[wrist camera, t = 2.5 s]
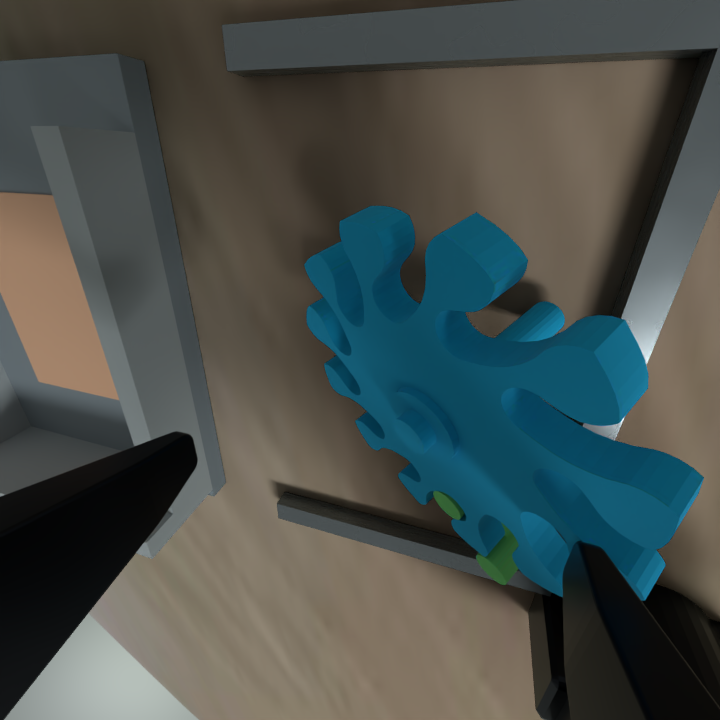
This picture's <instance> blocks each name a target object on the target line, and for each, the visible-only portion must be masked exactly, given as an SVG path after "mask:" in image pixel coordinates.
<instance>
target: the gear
mask: <svg viewBox="0 0 720 720" xmlns="http://www.w3.org/2000/svg"><path fill="white" fill-rule="evenodd" d="M339 230H340V237H341V242H338V243H336V244H334V245H332V246H331V247H329V248H327V249H325V250H323V251H321V252H319V253H317V254H315V255H313V256H311V257H310V258H309V259H308V260H307V262H306V263H305V265H304V266H305V269H306V272H307V274H308V276H309V278H310V280H311V282H312V283H313V285H314V286H315V287H316V289H317V290H318V291H319V292H320V293H321V294H322V295H323V298H322V299H320V300H318V301H316V302H315V303H313V304H311V305H310V306H309V307H308V308H307V316H306V318H307V325H308V327H309V329H310V330H311V332H312V333H313V334H314V335H315V337H316V338H317V339H319V340H320V341H321V342H323V343H324V344H325V345H327V346H328V347H329V348H330V349H331V350H332V351H333V352H334V353H335V354H336V356H335V357H333V358H332V359H330V360H329V361H327V362H326V363H324V367H325V371H326V374H327V377H328V380H329V382H330V384H331V386H332V388H333V389H334V390H335V391H336V392H337V393H339V394H340V395H342V396H346V397H349V398H351V399H352V400H354V401H355V402H357V403H358V404H359V405H361V406H362V407H363V408H364V409H365V410H366V411H367V412H366V413H365V414H363V415H362V416H361V417H360V418H358V419H357V420H356V421H355V422H356V425H357V427H358V429H359V430H360V432H361V434H362V435H363V437H364V439H365V440H366V442H367V443H368V445H369V446H370V447H371V448H373V449H374V450H377V451H378V450H380V449H381V448H387V449H390V450H392V451H394V452H396V453H398V454H400V455H401V456H403V457H404V458H406V459H407V460H408V461H409V462H410V464H409V465H408V466H407V467H405V468H404V469H403V470H402V471H401V472H400V473H399V474H398V477H399V479H400V480H401V482H402V483H403V484H404V486H405V487H406V488H407V489H408V491H409V492H410V493H411V494H412V495H413V496H414V498H415V499H416V500H417V501H418V502H419V503H420V504H422V505H426V504H427V503H428V502H429V501H430V500H431V499H432V498H433V497H434V498H435V500H436V502H437V503H438V505H439V506H440V507H441V508H442V509H443V510H444V511H445V512H446V513H447V514H448V515H449V516H451V517H452V518H453V519H452V521H451V524H452V527H453V529H454V530H455V531H456V532H457V533H458V535H459V536H460V537H462V538H463V539H464V540H465V541H466V542H467V543H468V544H469V545H470V546H471V547H473V548H474V549H475V550H476V551H478V552H479V553H478V554H477V555H476V559H477V561H478V563H479V565H480V566H481V567H482V569H483V570H484V571H485V572H486V573H487V574H488V575H489V576H490V577H491V578H492V579H493V580H495V581H496V582H498V583H499V584H501V585H506V584H507V582H508V581H509V580H510V579H511V577H512V576H513V575H514V574H515V572H516V571H517V570H518V569H519V570H520V571H521V572H522V574H524V575H525V576H526V577H528V578H529V579H530V580H532V581H533V582H535V583H536V584H538V585H540V586H541V587H543V588H545V589H547V590H549V591H550V592H552V593H554V594H556V595H558V596H560V597H562V598H563V586H562V577H563V570H564V566H565V564H566V562H567V559H568V557H569V555H570V553H571V550H572V548H573V546H574V544H575V543H576V542H578V541H582V542H585V543H589V544H593V545H596V546H599V547H601V548H602V549H603V550H604V551H605V552H606V553H607V555H608V556H609V558H610V559H611V560H612V562H613V563H614V564H615V566H616V567H617V568H618V570H619V571H620V572H621V574H622V575H623V577H624V578H625V579H626V581H627V582H628V583H629V585H630V586H631V587H632V589H633V590H634V592H635V593H636V594H637V596H638V597H639V598H640V600H641V601H645V600H646V598H647V596H648V595H649V593H650V591H651V590H652V588H653V586H654V585H655V583H656V581H657V579H658V578H659V576H660V574H661V573H662V571H663V569H664V568H665V566H666V565H665V562H664V560H663V558H662V557H661V555H660V554H659V553H658V551H657V550H656V549H659V548H662V547H663V546H665V545H666V544H667V543H668V542H669V541H670V540H671V538H672V536H673V535H674V533H675V531H676V530H677V528H678V526H679V525H680V523H681V521H682V520H683V518H684V516H685V515H686V513H687V512H688V510H689V508H690V507H691V505H692V503H693V502H694V500H695V498H696V497H697V495H698V493H699V490H700V488H701V485H702V482H703V479H704V477H703V476H702V475H700V474H699V473H698V472H697V471H696V470H695V469H694V468H692V467H691V466H689V465H688V464H686V463H685V462H683V461H681V460H680V459H677V458H675V457H673V456H671V455H669V454H667V453H664V452H660V451H657V450H654V449H648V448H643V447H637V446H632V445H629V444H625V443H622V442H618V441H615V440H612V439H609V438H607V437H604V436H602V435H599V434H597V433H594V432H593V431H591V430H589V429H587V428H585V427H583V426H581V425H579V424H577V423H576V422H574V421H572V420H571V419H569V418H568V417H566V416H565V415H567V416H569V417H570V418H573V419H575V420H577V421H579V422H582V423H586V424H589V425H596V426H611V425H615V424H618V423H620V422H621V421H622V419H623V418H624V417H625V416H626V415H627V413H628V412H629V411H630V410H631V408H632V407H633V406H634V405H635V404H636V402H637V401H638V400H639V399H640V397H641V396H642V395H643V394H644V393H645V391H646V390H647V389H648V371H647V367H646V362H645V359H644V356H643V354H642V352H641V349H640V347H639V345H638V342H637V341H636V339H635V337H634V335H633V333H632V331H631V330H630V328H629V326H628V324H627V322H626V320H624V319H620V318H617V317H613V316H605V315H595V316H589V317H585V318H583V319H580V320H578V321H576V322H575V323H574V324H572V325H571V326H570V327H569V328H567V329H566V330H565V331H563V332H561V333H559V334H557V335H555V334H556V333H557V332H558V331H559V330H560V329H561V328H562V327H563V325H564V323H565V318H564V315H563V313H562V311H561V310H560V309H559V307H557V306H556V305H555V304H553V303H550V302H546V301H544V302H539V303H537V304H535V305H534V306H533V307H532V308H530V309H529V310H528V311H527V312H526V313H524V314H523V315H522V316H521V317H520V318H518V319H517V320H516V321H515V322H513V323H512V324H511V325H510V326H509V327H507V328H506V329H505V330H504V331H503V332H501V333H500V334H499V335H498V336H496V337H495V338H491V337H487V336H485V335H483V334H481V333H480V332H479V331H477V330H476V329H475V328H474V327H473V326H472V324H471V323H470V322H469V320H468V318H467V316H466V314H465V312H475V311H479V310H481V309H483V308H484V307H485V306H487V305H488V304H489V303H491V302H492V301H493V300H495V299H496V298H497V297H499V296H500V295H501V294H503V293H504V292H505V291H507V290H508V289H509V288H511V287H512V286H513V285H515V284H516V283H517V282H518V281H519V280H520V279H521V278H522V277H523V275H524V273H525V271H526V268H527V263H528V259H527V258H526V256H525V255H524V253H523V252H522V250H521V249H520V247H519V246H518V245H517V244H516V243H515V242H514V241H513V240H512V239H511V238H510V237H509V236H508V235H507V234H506V233H504V232H503V231H502V230H501V229H500V228H498V227H497V226H496V225H495V224H493V223H492V222H490V221H489V220H487V219H486V218H484V217H483V216H481V215H480V214H478V213H477V212H476V213H474V214H473V215H471V216H469V217H467V218H466V219H464V220H462V221H461V222H459V223H457V224H456V225H454V226H452V227H450V228H449V229H447V230H445V231H444V232H442V233H440V234H439V235H437V236H435V237H434V238H433V239H432V240H431V242H430V243H429V245H428V247H427V250H426V255H425V267H426V283H425V291H424V295H423V299H422V301H421V303H417V302H416V301H414V300H413V299H412V298H411V297H410V296H409V295H408V293H407V292H406V291H405V289H404V287H403V285H402V282H401V278H400V269H401V266H402V264H403V263H404V261H405V260H406V259H407V258H408V257H409V255H410V254H411V253H412V251H413V248H414V245H415V232H414V227H413V224H412V221H411V219H410V216H409V215H407V214H406V213H404V212H402V211H401V210H398V209H395V208H392V207H387V206H369V207H367V208H365V209H363V210H361V211H359V212H357V213H355V214H353V215H351V216H349V217H347V218H345V219H343V220H341V221H340V226H339ZM554 335H555V336H554ZM552 336H553V337H552ZM540 397H541V398H542V399H543V400H545V401H546V402H548V403H549V404H551V405H552V406H553V407H555V408H556V409H558V410H559V411H561V412H562V413H564V414H565V415H563V414H562V413H560V412H559V411H557V410H556V409H555V408H553V407H552V406H550V405H549V404H547V403H546V402H545V401H543V400H542V399H541V398H540ZM556 530H557V531H558V532H559V533H560V534H561V535H562V537H563V538H564V540H565V541H566V543H567V544H566V543H565V541H564V540H563V539H562V537H561V536H560V535H559V534H558V532H557V531H556Z"/></svg>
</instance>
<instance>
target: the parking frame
mask: <svg viewBox="0 0 720 720" xmlns="http://www.w3.org/2000/svg"><path fill="white" fill-rule="evenodd" d="M222 31H223V40H224V48H225V57H226V66H227V71H229V72H231V73H234V74H237V75H240V76H243V77H244V76H268V75H292V74H316V73H339V72H363V71H387V70H411V69H435V68H459V67H483V66H507V65H530V64H554V63H578V62H602V61H626V60H650V59H674V58H698V57H700V59H699V61H698V64H697V67H696V70H695V73H694V76H693V79H692V82H691V85H690V88H689V91H688V94H687V96H686V99H685V102H684V105H683V108H682V111H681V114H680V117H679V120H678V123H677V126H676V128H675V131H674V134H673V137H672V140H671V143H670V146H669V149H668V152H667V155H666V158H665V161H664V163H663V166H662V169H661V172H660V175H659V178H658V181H657V184H656V187H655V190H654V193H653V195H652V198H651V201H650V204H649V207H648V210H647V213H646V216H645V219H644V222H643V225H642V227H641V230H640V233H639V236H638V239H637V242H636V245H635V248H634V251H633V254H632V257H631V260H630V262H629V265H628V268H627V271H626V274H625V277H624V280H623V283H622V286H621V289H620V292H619V294H618V297H617V300H616V303H615V306H614V309H613V312H612V315H611V316H613V317H617V318H620V319H624V320H626V322H627V324H628V326H629V328H630V330H631V331H632V333H633V335H634V337H635V339H636V341H637V342H638V345H639V347H640V349H641V352H642V354H643V356H644V359H645V362H646V364H647V362H648V360H649V357H650V355H651V352H652V350H653V348H654V345H655V343H656V340H657V338H658V336H659V333H660V331H661V328H662V326H663V323H664V321H665V319H666V316H667V314H668V311H669V309H670V307H671V304H672V302H673V299H674V297H675V295H676V292H677V290H678V287H679V285H680V283H681V280H682V278H683V275H684V273H685V270H686V268H687V266H688V263H689V261H690V258H691V256H692V254H693V251H694V249H695V246H696V244H697V242H698V239H699V237H700V234H701V232H702V229H703V227H704V225H705V222H706V220H707V217H708V215H709V213H710V210H711V208H712V205H713V203H714V201H715V198H716V196H717V193H718V191H719V189H720V0H515V1H503V2H491V3H479V4H467V5H455V6H443V7H430V8H418V9H406V10H394V11H382V12H370V13H358V14H346V15H334V16H322V17H310V18H298V19H286V20H274V21H262V22H250V23H238V24H226V25H222ZM624 418H625V417H624ZM624 418H623V419H622V421H621V422H620V423H618V424H615V425H611V426H596V425H589V424H586V423H582V422H579V421H577V420H575V422H576V423H577V424H579V425H581V426H583V427H585V428H587V429H589V430H591V431H593V432H594V433H597V434H599V435H602V436H604V437H607V438H609V439H612V440H615V439H616V437H617V434H618V432H619V430H620V427H621V425H622V422H623V420H624ZM277 510H278V518H280V519H283V520H287V521H290V522H294V523H297V524H301V525H304V526H308V527H311V528H315V529H318V530H321V531H325V532H328V533H332V534H335V535H339V536H342V537H346V538H349V539H353V540H356V541H359V542H363V543H366V544H370V545H373V546H377V547H380V548H384V549H387V550H391V551H394V552H397V553H401V554H404V555H408V556H411V557H415V558H418V559H422V560H425V561H429V562H432V563H435V564H439V565H442V566H446V567H449V568H453V569H456V570H460V571H463V572H467V573H470V574H473V575H477V576H480V577H484V578H487V579H491V580H493V579H492V578H491V577H490V576H489V575H488V574H487V573H486V572H485V571H484V570H483V569H482V567H481V566H480V565H479V563H478V561H477V559H476V555H477V554H478V553H479V552H478V551H476V550H475V549H474V548H473V547H471V546H470V545H469V544H468V543H467V542H466V541H465V540H462V539H459V538H455V537H451V536H447V535H444V534H440V533H436V532H433V531H429V530H425V529H421V528H418V527H414V526H410V525H407V524H403V523H399V522H395V521H392V520H388V519H384V518H380V517H377V516H373V515H369V514H366V513H362V512H358V511H354V510H351V509H347V508H343V507H340V506H336V505H332V504H328V503H325V502H321V501H317V500H313V499H310V498H306V497H302V496H299V495H295V494H291V493H287V492H284V493H283V495H282V496H281V498H280V500H279V501H278V503H277ZM556 531H557V530H556ZM557 532H558V531H557ZM558 534H559V535H560V536H561V537H562V535H561V534H560V533H559V532H558ZM562 539H563V540H564V538H563V537H562ZM564 541H565V540H564ZM565 543H566V541H565ZM566 544H567V543H566ZM494 581H495V580H494ZM507 584H508V585H511V586H515V587H518V588H522V589H525V590H529V591H532V592H536V593H539V594H543V595H546V596H549V597H550V596H551V593H552V592H550V591H549V590H547V589H545V588H543V587H541V586H540V585H538V584H536V583H535V582H533V581H532V580H530V579H529V578H528V577H526V576H525V575H524V574H522V572H521V571H520V570H519V569H518V570H517V571H516V572H515V574H514V575H513V576H512V577H511V579H510V580H509V581H508V582H507Z"/></svg>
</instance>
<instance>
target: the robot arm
mask: <svg viewBox="0 0 720 720" xmlns="http://www.w3.org/2000/svg"><path fill="white" fill-rule="evenodd" d="M197 463H198V457H197V453H196V448H195V444H194V440H193V437H192V436H191V435H190V434H187V433H183V432H179V431H174V432H171V433H169V434H166V435H163V436H161V437H158V438H155V439H153V440H150V441H147V442H145V443H142V444H139V445H137V446H134V447H131V448H129V449H126V450H123V451H121V452H118V453H115V454H112V455H110V456H107V457H104V458H102V459H99V460H96V461H94V462H91V463H88V464H86V465H83V466H80V467H78V468H75V469H72V470H70V471H67V472H64V473H62V474H59V475H56V476H54V477H51V478H48V479H46V480H43V481H40V482H38V483H35V484H32V485H30V486H27V487H24V488H22V489H19V490H16V491H14V492H11V493H8V494H6V495H3V496H0V720H4V719H5V718H6V716H7V715H8V714H9V713H10V711H11V710H12V709H13V708H14V706H15V705H16V704H17V702H18V701H19V699H21V697H22V696H23V695H24V694H25V692H26V691H27V690H28V689H29V687H30V686H31V685H32V684H33V682H34V681H35V680H36V678H37V677H38V676H39V675H40V673H41V672H42V671H43V670H44V668H45V667H46V666H47V665H48V663H49V662H50V661H51V660H52V658H53V657H54V656H55V655H56V653H57V652H58V651H59V649H60V648H61V647H62V646H63V644H64V643H65V642H66V640H67V639H68V638H69V637H70V635H71V634H72V633H73V632H74V630H75V629H76V628H77V627H78V625H79V624H80V623H81V622H82V620H83V619H84V618H85V617H86V615H87V614H88V613H89V612H90V610H91V609H92V608H93V607H94V605H95V604H96V603H97V601H98V600H99V599H100V598H101V596H102V595H103V594H104V593H105V591H106V590H107V589H108V588H109V586H110V585H111V584H112V583H113V581H114V580H115V579H116V577H117V576H118V575H119V574H120V572H121V571H122V570H123V569H124V567H125V566H126V565H127V564H128V562H129V561H130V560H131V559H132V557H133V556H134V555H135V553H136V552H137V551H138V550H139V548H140V547H141V546H142V545H143V543H144V542H145V541H146V540H147V538H148V537H149V536H150V535H151V533H152V532H153V531H154V529H155V528H156V527H157V525H158V524H159V523H160V521H161V520H162V519H163V517H164V516H165V514H166V513H167V511H168V510H169V508H170V507H171V505H172V504H173V502H174V501H175V499H176V498H177V496H178V495H179V493H180V491H181V490H182V488H183V487H184V485H185V484H186V482H187V481H188V479H189V478H190V476H191V475H192V473H193V472H194V470H195V468H196V466H197ZM562 586H563V598H562V597H560V596H558V595H556V594H554V593H551V596H550V597H549V596H546V595H543V594H539V593H536V594H535V596H534V599H533V602H532V604H531V607H530V609H529V612H528V614H529V628H530V641H531V654H532V667H533V680H534V694H535V707H536V710H537V712H538V714H539V715H540V717H541V718H542V719H544V720H720V622H718V621H714V620H711V619H709V618H708V617H707V616H706V614H705V613H704V612H703V611H702V609H701V608H700V607H698V606H697V605H696V604H695V603H694V602H692V601H691V600H689V599H688V598H686V597H685V596H683V595H681V594H680V593H677V592H675V591H673V590H671V589H668V588H666V587H663V586H660V585H657V584H655V585H654V586H653V588H652V590H651V591H650V593H649V595H648V596H647V598H646V600H645V601H641V600H640V598H639V597H638V596H637V594H636V593H635V592H634V590H633V589H632V587H631V586H630V585H629V583H628V582H627V581H626V579H625V578H624V577H623V575H622V574H621V572H620V571H619V570H618V568H617V567H616V566H615V564H614V563H613V562H612V560H611V559H610V558H609V556H608V555H607V553H606V552H605V551H604V550H603V549H602V548H601V547H599V546H596V545H593V544H589V543H585V542H582V541H578V542H576V543H575V544H574V546H573V548H572V550H571V553H570V555H569V557H568V559H567V562H566V564H565V566H564V570H563V577H562Z"/></svg>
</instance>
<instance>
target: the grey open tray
mask: <svg viewBox="0 0 720 720" xmlns="http://www.w3.org/2000/svg"><path fill="white" fill-rule="evenodd" d="M174 431H179V432H183V433H187V434H190V435H191V436H192V437H193V440H194V444H195V448H196V453H197V457H198V463H197V466H196V468H195V470H194V472H193V473H192V475H191V476H190V478H189V479H188V481H187V482H186V484H185V485H184V487H183V488H182V490H181V491H180V493H179V495H178V496H177V498H176V499H175V501H174V502H173V504H172V505H171V507H170V508H169V510H168V511H167V513H166V514H165V516H164V517H163V519H162V520H161V521H160V523H159V524H158V525H157V527H156V528H155V529H154V531H153V532H152V533H151V535H150V536H149V537H148V538H147V540H146V541H145V542H144V543H143V545H142V546H141V547H140V548H139V550H138V551H137V552H136V553H137V554H140V555H143V556H145V557H148V558H151V559H153V558H154V556H155V555H156V554H157V553H158V552H159V551H160V550H161V548H162V547H163V546H164V545H165V544H166V543H167V541H168V540H169V539H170V538H171V537H172V536H173V535H174V533H175V532H176V531H177V530H178V529H179V528H180V526H181V525H182V524H183V523H184V522H185V521H186V520H187V518H188V517H189V516H190V515H191V514H192V513H193V511H194V510H195V509H196V508H197V507H198V506H199V505H200V503H201V502H202V501H203V500H204V499H205V498H206V496H207V495H211V496H215V495H216V494H217V493H218V491H219V490H220V489H221V488H222V487H223V485H224V484H225V483H226V481H225V475H224V470H223V465H222V460H221V455H220V450H219V445H218V439H217V434H216V429H215V424H214V419H213V414H212V409H211V403H210V398H209V393H208V388H207V383H206V378H205V373H204V367H203V362H202V357H201V352H200V347H199V342H198V337H197V331H196V326H195V321H194V316H193V311H192V306H191V301H190V295H189V290H188V285H187V280H186V275H185V270H184V265H183V259H182V254H181V249H180V244H179V239H178V234H177V229H176V223H175V218H174V213H173V208H172V203H171V198H170V193H169V187H168V182H167V177H166V172H165V167H164V162H163V157H162V151H161V146H160V141H159V136H158V131H157V126H156V121H155V115H154V110H153V105H152V100H151V95H150V90H149V85H148V79H147V74H146V69H145V64H144V61H142V60H138V59H135V58H132V57H128V56H125V55H121V54H118V53H114V54H99V55H84V56H69V57H54V58H39V59H24V60H8V61H0V496H3V495H6V494H8V493H11V492H14V491H16V490H19V489H22V488H24V487H27V486H30V485H32V484H35V483H38V482H40V481H43V480H46V479H48V478H51V477H54V476H56V475H59V474H62V473H64V472H67V471H70V470H72V469H75V468H78V467H80V466H83V465H86V464H88V463H91V462H94V461H96V460H99V459H102V458H104V457H107V456H110V455H112V454H115V453H118V452H121V451H123V450H126V449H129V448H131V447H134V446H137V445H139V444H142V443H145V442H147V441H150V440H153V439H155V438H158V437H161V436H163V435H166V434H169V433H171V432H174Z"/></svg>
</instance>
